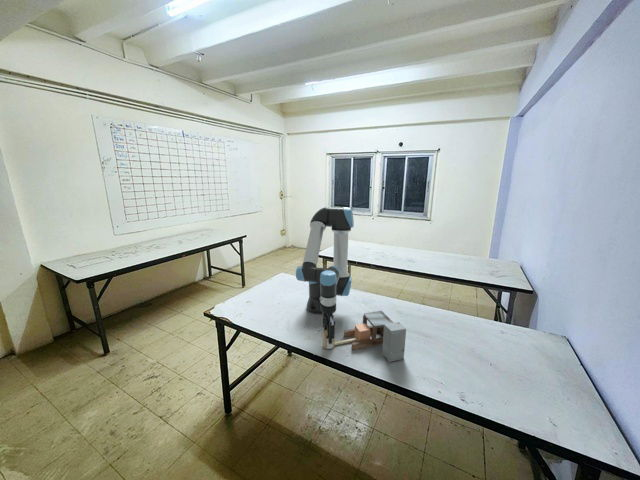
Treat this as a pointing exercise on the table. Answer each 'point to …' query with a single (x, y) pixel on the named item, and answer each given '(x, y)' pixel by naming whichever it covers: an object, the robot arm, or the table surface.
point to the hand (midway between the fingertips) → (328, 345)
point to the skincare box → (394, 341)
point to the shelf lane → (377, 323)
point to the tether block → (360, 335)
